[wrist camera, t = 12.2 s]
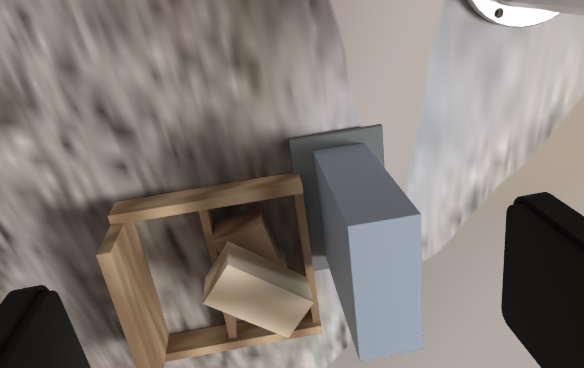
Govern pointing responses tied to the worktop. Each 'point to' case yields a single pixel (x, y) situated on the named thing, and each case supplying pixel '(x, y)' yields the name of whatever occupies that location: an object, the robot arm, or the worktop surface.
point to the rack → (140, 288)
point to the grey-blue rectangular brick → (371, 250)
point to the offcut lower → (248, 235)
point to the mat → (306, 169)
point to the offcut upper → (257, 290)
